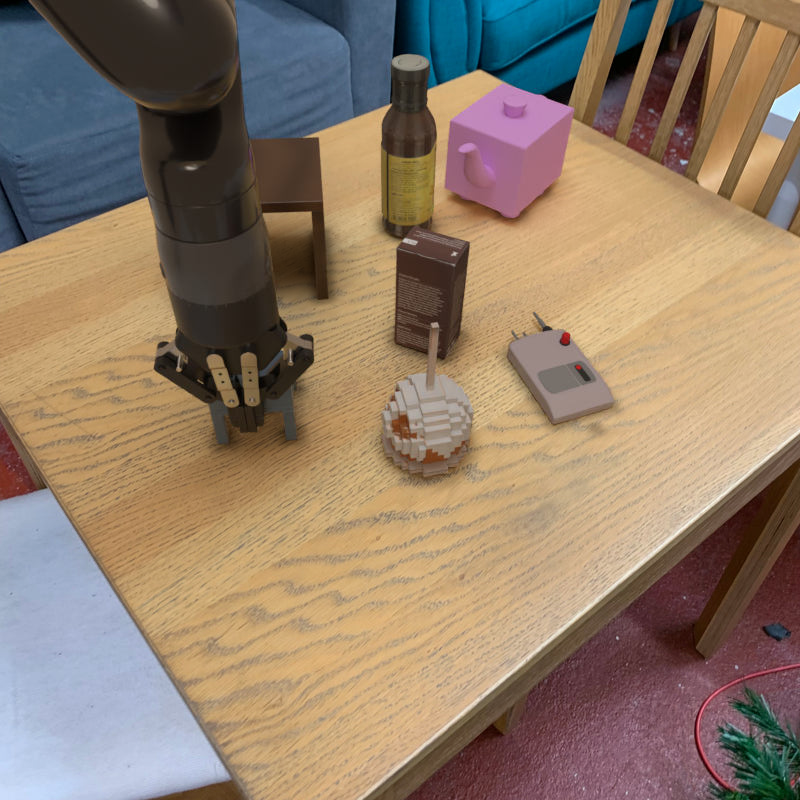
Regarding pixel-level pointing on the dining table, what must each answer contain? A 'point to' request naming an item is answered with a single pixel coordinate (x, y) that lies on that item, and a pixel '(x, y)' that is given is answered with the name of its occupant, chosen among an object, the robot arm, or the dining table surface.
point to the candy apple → (427, 419)
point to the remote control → (559, 374)
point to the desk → (294, 188)
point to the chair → (278, 405)
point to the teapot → (507, 148)
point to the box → (430, 289)
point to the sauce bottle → (408, 149)
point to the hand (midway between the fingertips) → (249, 425)
